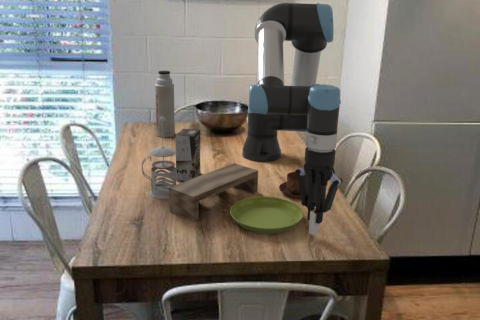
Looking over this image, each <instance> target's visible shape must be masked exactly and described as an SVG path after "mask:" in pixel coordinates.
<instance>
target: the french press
mask: <svg viewBox="0 0 480 320" xmlns="http://www.w3.org/2000/svg"><path fill="white" fill-rule="evenodd" d="M159 121H162V137H161V138H162V141H161V142H162V143H161V145H162V146H161V145H160V146H157V147H155V148H152V149H151V150H150V152H149V153H150V155H148V156H146V157H145V158H144V159H143V160H142V163H141V171H142V172H141V173H142V175H143V177H145V178H146V179H148V180H150V186H151V187H150V191H149V192H148V195H149V197H150V198H153V199H156V200H157V199H159V200H167V199H169V187H171V186H174V185H177V180H176V162H174V161H172V160H171V161H170V160H165V159H164V158H168V157H173V156H174V155H175V156H176V149H174V148H172V147H170V146H165V145H164V137H163V121H165V117H160V118H159ZM152 156H153V157H155V158H162V160H157V161H154V162H152ZM148 159H149V161H150V162H152V164H151V166H152V167H151V169H150V170H151V171H150V172H151V174H150V175H151V177H150V176H149V175H147V174H146V173H145V171H144V163H146V161H147V160H148Z"/></svg>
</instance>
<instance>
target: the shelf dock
mask: <svg viewBox="0 0 480 320" xmlns="http://www.w3.org/2000/svg"><path fill="white" fill-rule="evenodd" d="M258 183H259V170H258V169H256V168H255V169H254V168H251V167H248V166H244V165H241V164H239V163H235V162H234V163H231V164H229V165H226V166H222V167H221V168H218V169H215V170H212V171H209V172H207V173H204V174H201V175H198V177H196V178H193V179H190V180H188V181H183V182H180V183H178V184H177V183H176V185H174V186H171V187H169V200H168V204H169V205H168V206H169V207H168V208H169V209H168V210H169V212H170V213H173V214H175V215H178V216H180V217H181V218H184V219H187V220H189V221H191V222H195V221H198V220H199V219H200V217H199V213H200V211H199V210H200V209H199V208H200V207H199V204H200V202H201V201H203V200H205V199H208V198H210V197H212V196H217V195H220V194H223V193H225V192H226V191H227V190H229V189H232V188H235V189H238V190H241V191H244V192H247V193H250V194H253V195H254V194H257V193H258V189H259V188H258V186H259V184H258Z"/></svg>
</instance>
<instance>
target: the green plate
mask: <svg viewBox="0 0 480 320" xmlns="http://www.w3.org/2000/svg"><path fill="white" fill-rule="evenodd" d="M229 213H230V215H231V217H232V219H233V220H234V221H235V223H236V224H237V225H239V226H240V227H242V228H243V229H244V230H247V231H249V232H251V233H257V234H263V235H273V234H274V235H275V234H276V235H277V234H281V233H285V232H288V231H289V230H292V229H293V228H295V226H297V225H298V224H299V223H300V222H301V221H302V219H303V217H304V211H303V210H302V208H301V207H300V206H299V205H297V204H296V203H295V202H293V201H291V200H289V199H284V198H280V197H273V196H253V197H247V198H243V199H241V200H238V201H236V202H235V203H234V204H233V205H231V207H230V210H229Z"/></svg>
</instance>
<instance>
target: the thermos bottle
mask: <svg viewBox="0 0 480 320" xmlns="http://www.w3.org/2000/svg"><path fill="white" fill-rule="evenodd" d="M157 76H158V78H156V80H155V82H156V83H155V84H154V93H155V94H154V95H155V98H154V99H155V100H154V102H155V125H156V127H155V128H156V130H155V131H156V136H157V137H160V138H162V121H159V118H160V117H165V121H163V138H171V137H175V136H176V131H175V129H176V128H175V127H176V126H175V121H176V120H175V85H174V83H173V79H172V77H171V71H169V70H158V75H157Z"/></svg>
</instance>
